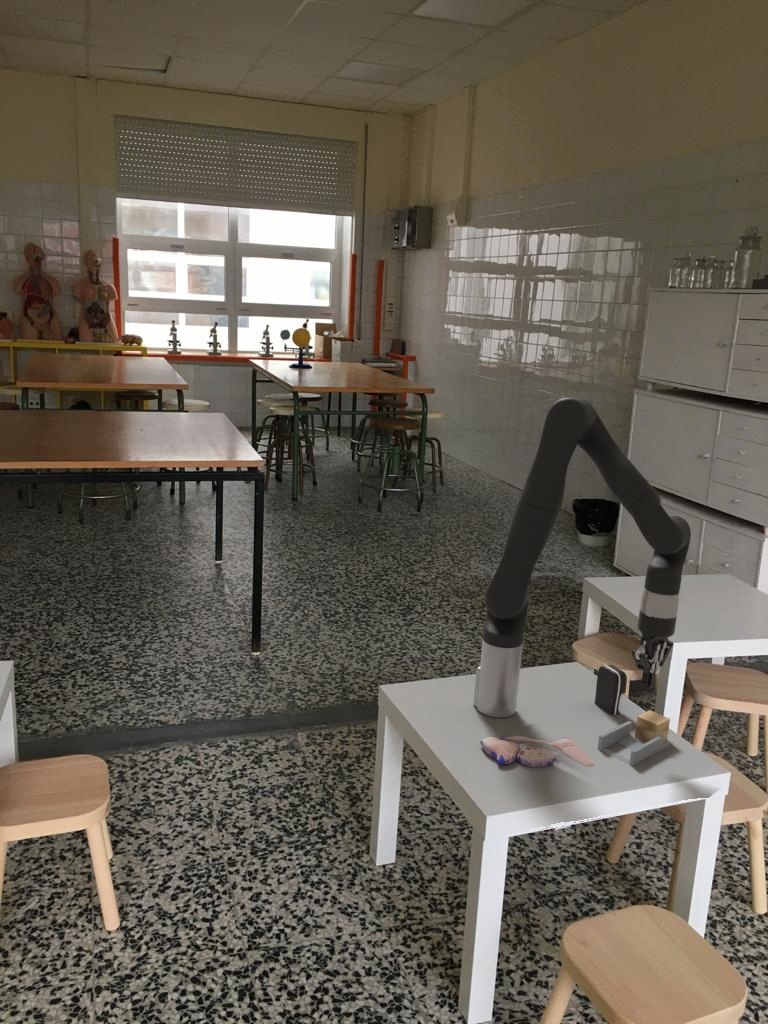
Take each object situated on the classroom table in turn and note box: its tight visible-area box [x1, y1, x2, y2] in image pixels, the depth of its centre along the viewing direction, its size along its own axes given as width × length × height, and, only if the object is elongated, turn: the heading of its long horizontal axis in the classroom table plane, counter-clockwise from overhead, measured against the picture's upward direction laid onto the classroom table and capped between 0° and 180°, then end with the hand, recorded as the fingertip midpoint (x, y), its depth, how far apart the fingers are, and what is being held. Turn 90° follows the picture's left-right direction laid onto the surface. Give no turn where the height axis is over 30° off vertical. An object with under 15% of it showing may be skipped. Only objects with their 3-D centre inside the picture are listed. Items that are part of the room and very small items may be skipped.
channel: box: [597, 720, 673, 766], centre depth 183 cm, size 9×16×4 cm, turn 132°
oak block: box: [635, 710, 671, 742], centre depth 186 cm, size 5×5×5 cm
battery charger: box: [594, 664, 628, 716], centre depth 200 cm, size 7×4×11 cm, turn 25°
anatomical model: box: [480, 735, 596, 768], centre depth 178 cm, size 20×3×15 cm
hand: (647, 686), depth 181 cm, fingers closed
